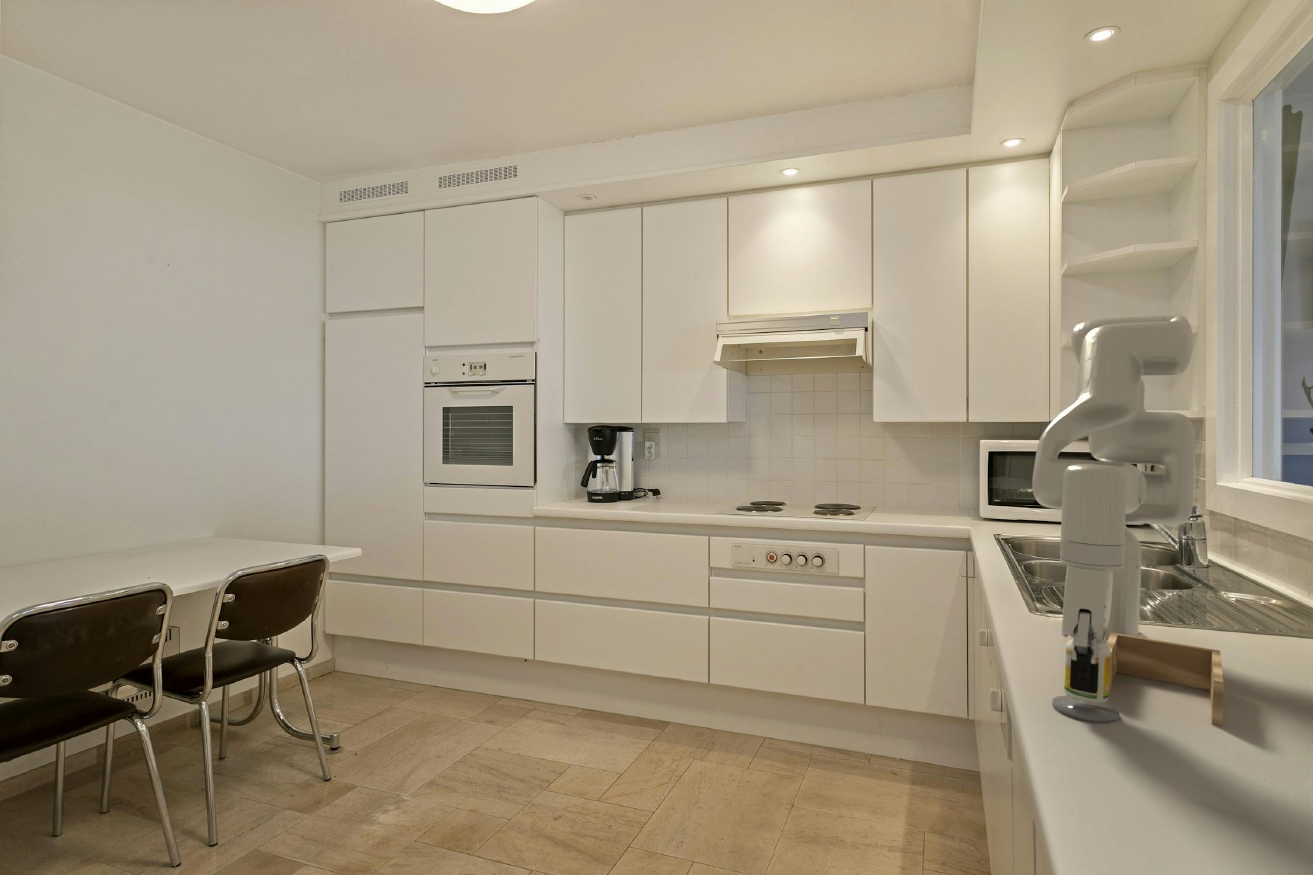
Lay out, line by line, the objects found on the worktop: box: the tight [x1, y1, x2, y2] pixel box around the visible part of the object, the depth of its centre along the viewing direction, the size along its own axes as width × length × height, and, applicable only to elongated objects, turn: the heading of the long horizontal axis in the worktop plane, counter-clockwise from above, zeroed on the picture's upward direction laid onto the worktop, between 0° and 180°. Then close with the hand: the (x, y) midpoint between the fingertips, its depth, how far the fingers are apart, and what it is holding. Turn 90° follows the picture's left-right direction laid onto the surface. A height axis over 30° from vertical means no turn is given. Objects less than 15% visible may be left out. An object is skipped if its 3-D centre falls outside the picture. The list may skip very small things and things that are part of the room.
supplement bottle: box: [1063, 631, 1111, 704], centre depth 100 cm, size 5×5×10 cm
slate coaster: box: [1051, 695, 1120, 724], centre depth 100 cm, size 8×8×1 cm
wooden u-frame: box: [1106, 632, 1224, 727], centre depth 106 cm, size 17×14×6 cm
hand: (1086, 682), depth 100 cm, fingers closed on supplement bottle, 5 cm apart
